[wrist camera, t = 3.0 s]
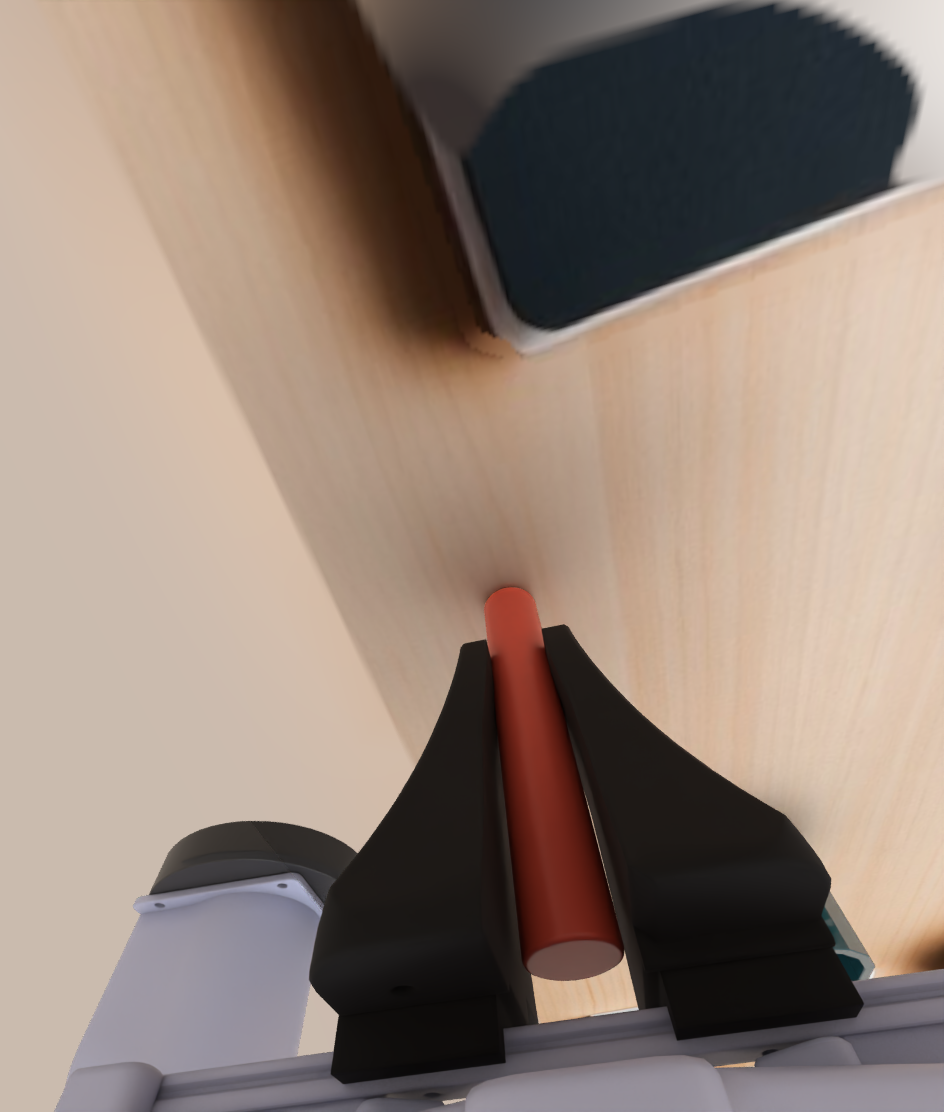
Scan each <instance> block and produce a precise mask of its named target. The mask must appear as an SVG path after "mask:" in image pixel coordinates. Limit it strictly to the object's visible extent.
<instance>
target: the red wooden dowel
mask: <svg viewBox="0 0 944 1112" xmlns="http://www.w3.org/2000/svg"><path fill="white" fill-rule="evenodd" d="M484 613H485V622H486V632H487V641H488V649H489V653H490V656H491V663H492V672H493V681H494V698H495V715H496V725H497V735H498V744H499V753H500V763H501V772H502V781H503V791H504V800H505V809H506V819H507V828H508V837H509V847H510V856H511V865H512V875H513V884H514V893H515V903H516V912H517V921H518V931H519V940H520V950H521V959H522V963H523V965H524V967H525V969H526V970H527V971H528V972H529V973H531V974H532V975H534V976H537V977H540V978H544V979H549V980H557V981H570V980H580V979H585V978H590V977H593V976H597V975H599V974H602V973H604V972H606V971H608V970H610V969H612V968H613V967H615V966H616V965H618V964H619V963H620V962H621V960H622V959H623V956H624V944H623V940H622V936H621V933H620V929H619V925H618V921H617V917H616V913H615V909H614V906H613V902H612V898H611V894H610V890H609V886H608V882H607V878H606V875H605V871H604V867H603V863H602V859H601V855H600V851H599V848H598V844H597V840H596V836H595V832H594V828H593V824H592V821H591V817H590V813H589V809H588V805H587V801H586V797H585V793H584V790H583V786H582V782H581V778H580V774H579V770H578V766H577V763H576V759H575V755H574V751H573V747H572V743H571V739H570V735H569V732H568V728H567V724H566V720H565V716H564V712H563V708H562V705H561V702H560V698H559V695H558V692H557V689H556V686H555V683H554V681H553V678H552V675H551V671H550V667H549V663H548V659H547V655H546V651H545V647H544V641H543V636H542V630H541V629H542V627H541V623H540V620H539V616H538V612H537V608H536V604H535V601H534V599H533V597H532V596H531V595H530V594H529V593H528V592H526V591H525V590H523V589H520V588H516V587H508V588H503V589H500V590H498V591H496V592H494V593H493V594H492V595H491V596H490V597H489V598H488V600H487V601H486V604H485V607H484Z"/></svg>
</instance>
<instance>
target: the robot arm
mask: <svg viewBox="0 0 944 1112" xmlns="http://www.w3.org/2000/svg"><path fill="white" fill-rule="evenodd" d="M541 630H542V636H543V641H544V647H545V651H546V655H547V659H548V663H549V667H550V671H551V675H552V678H553V681H554V683H555V686H556V689H557V692H558V695H559V698H560V702H561V705H562V708H563V712H564V716H565V720H566V724H567V728H568V732H569V735H570V739H571V743H572V747H573V751H574V755H575V759H576V763H577V766H578V770H579V774H580V778H581V782H582V786H583V789H584V792H585V795H586V798H587V802H588V805H589V808H590V812H591V815H592V819H593V823H594V827H595V831H596V835H597V839H598V843H599V847H600V851H601V855H602V859H603V863H604V867H605V871H606V876H607V880H608V884H609V888H610V892H611V896H612V900H613V904H614V908H615V912H616V917H617V921H618V925H619V929H620V933H621V936H622V940H623V944H624V950H625V954H626V958H627V962H628V966H629V971H630V975H631V979H632V983H633V987H634V992H635V996H636V1000H637V1004H638V1008H639V1010H637V1011H630V1012H622V1013H615V1014H607V1015H600V1016H593V1017H585V1018H578V1019H571V1020H563V1021H556V1022H548V1023H541V1024H538V1017H537V1011H536V1004H535V998H534V991H533V984H532V978H531V973H529V972H528V971H527V970H526V969H525V967H524V965H523V963H522V959H521V950H520V940H519V931H518V921H517V912H516V903H515V893H514V884H513V875H512V865H511V856H510V847H509V837H508V828H507V819H506V809H505V800H504V791H503V781H502V772H501V763H500V753H499V744H498V735H497V725H496V715H495V698H494V681H493V672H492V663H491V656H490V653H489V649H488V645H487V641H486V640H480V641H475V642H470V643H465V644H463V645H462V647H461V649H460V654H459V659H458V663H457V667H456V670H455V674H454V677H453V680H452V684H451V687H450V689H449V692H448V695H447V698H446V701H445V704H444V706H443V709H442V711H441V714H440V716H439V719H438V721H437V723H436V726H435V728H434V730H433V733H432V735H431V737H430V739H429V741H428V744H427V746H426V748H425V750H424V752H423V754H422V756H421V758H420V759H419V761H418V763H417V765H416V767H415V769H414V771H413V772H412V774H411V776H410V778H409V779H408V781H407V783H406V784H405V786H404V788H403V789H402V791H401V793H400V794H399V796H398V798H397V799H396V801H395V802H394V804H393V805H392V807H391V808H390V810H389V812H388V813H387V814H386V816H385V817H384V819H383V820H382V821H381V823H380V824H379V826H378V827H377V829H376V830H375V831H374V833H373V834H372V835H371V837H370V838H369V840H368V841H367V842H366V844H365V845H364V846H363V848H362V849H361V850H360V852H359V853H358V854H357V855H356V856H355V858H354V859H353V860H352V861H351V862H350V864H349V865H348V866H347V867H346V869H345V870H344V871H343V872H342V874H341V875H340V876H339V877H338V878H337V880H336V881H335V882H334V883H333V884H332V886H331V887H330V889H329V892H328V895H327V898H326V901H325V904H323V902H322V901H321V900H320V899H319V897H318V896H317V895H316V893H315V892H314V891H313V890H312V888H311V887H310V886H309V884H308V883H307V882H306V881H305V879H304V878H303V877H302V875H300V874H299V873H296V872H288V873H282V874H276V875H270V876H263V877H257V878H251V879H245V880H239V881H233V882H226V883H220V884H214V885H208V886H202V887H196V888H190V889H183V890H177V891H171V892H165V893H159V894H153V895H146V896H141V897H138V898H137V899H136V901H135V903H134V905H133V908H134V909H135V910H136V911H137V912H138V913H140V914H141V915H140V917H139V919H138V921H137V923H136V925H135V928H134V930H133V932H132V934H131V936H130V938H129V940H128V942H127V944H126V947H125V949H124V951H123V953H122V955H121V957H120V960H119V961H118V964H117V966H116V968H115V970H114V972H113V974H112V976H111V979H110V981H109V983H108V985H107V987H106V990H105V991H104V994H103V996H102V998H101V1000H100V1002H99V1004H98V1006H97V1009H96V1011H95V1013H94V1015H93V1018H92V1019H91V1022H90V1024H89V1025H88V1028H87V1030H86V1032H85V1034H84V1036H83V1039H82V1040H81V1043H80V1045H79V1047H78V1049H77V1052H76V1054H75V1057H74V1059H73V1062H72V1065H71V1068H70V1071H69V1074H68V1077H67V1082H66V1085H65V1089H64V1091H63V1093H62V1095H61V1097H60V1100H59V1102H58V1104H57V1106H56V1109H55V1110H54V1112H944V969H940V970H932V971H925V972H917V973H910V974H903V975H895V976H888V977H881V978H873V979H866V980H858V981H851V979H850V977H849V975H848V973H847V972H846V970H845V968H844V966H843V965H842V963H841V961H840V959H839V957H838V956H837V954H836V952H835V950H834V949H833V947H835V944H836V942H835V939H834V936H833V935H832V933H831V931H830V930H829V928H828V926H827V924H826V923H825V921H824V919H823V917H822V916H821V915H822V912H823V909H824V906H825V904H826V901H827V898H828V895H829V892H830V888H831V877H830V876H829V874H828V872H827V871H826V869H825V867H824V865H823V863H822V862H821V860H820V858H819V857H818V856H817V854H816V853H815V851H814V850H813V849H812V847H811V846H810V845H809V844H808V842H807V841H806V840H805V838H804V837H803V836H802V835H801V833H800V832H799V831H798V830H797V828H796V827H795V826H794V825H793V824H792V823H791V821H790V820H789V819H788V818H787V817H786V816H785V815H784V814H783V813H781V812H779V811H777V810H776V809H774V808H772V807H770V806H769V805H767V804H765V803H764V802H762V801H760V800H758V799H757V798H755V797H754V796H752V795H750V794H749V793H747V792H745V791H744V790H742V789H741V788H739V787H737V786H736V785H734V784H733V783H731V782H730V781H728V780H727V779H725V778H724V777H722V776H721V775H719V774H718V773H716V772H715V771H713V770H712V769H710V768H709V767H708V766H706V765H705V764H704V763H702V762H701V761H699V760H698V759H697V758H695V757H694V756H693V755H691V754H690V753H689V752H687V751H686V750H684V749H683V748H682V747H680V746H679V745H678V744H676V743H675V742H674V741H673V740H672V739H670V738H669V737H668V736H667V735H665V734H664V733H663V732H662V731H661V730H659V729H658V728H657V727H656V726H655V725H654V724H652V723H651V722H650V721H649V720H648V719H647V718H646V717H645V716H643V715H642V714H641V713H640V712H639V711H638V710H637V709H636V708H635V707H634V706H633V705H632V704H631V703H630V702H629V701H628V700H627V699H626V698H625V697H624V696H623V695H622V694H621V693H620V692H619V691H618V690H617V689H616V688H615V687H614V686H613V685H612V684H611V683H610V681H609V680H608V679H607V678H606V677H605V676H604V675H603V673H602V672H601V671H600V670H599V669H598V668H597V666H596V665H595V664H594V663H593V662H592V660H591V659H590V658H589V657H588V655H587V654H586V653H585V651H584V650H583V649H582V647H581V646H580V644H579V643H578V642H577V640H576V639H575V637H574V635H573V634H572V632H571V630H570V629H569V627H568V626H566V625H564V624H563V625H558V626H553V627H548V628H543V629H541ZM311 984H312V986H313V988H314V989H315V991H316V992H317V993H318V994H319V995H320V996H321V997H322V998H323V999H324V1000H325V1001H326V1002H327V1003H328V1004H329V1005H330V1006H331V1007H332V1008H333V1009H334V1010H335V1011H336V1012H337V1013H338V1014H339V1017H338V1024H337V1032H336V1038H335V1045H334V1052H327V1053H320V1054H313V1055H305V1056H298V1057H297V1054H298V1048H299V1043H300V1038H301V1033H302V1027H303V1022H304V1017H305V1011H306V1006H307V1000H308V995H309V990H310V985H311ZM754 1061H756V1062H755V1065H754V1066H755V1067H733V1068H714V1067H715V1066H723V1065H731V1064H738V1063H746V1062H754ZM461 1098H466V1100H464V1101H460V1102H456V1103H452V1104H448V1105H444V1103H443V1102H442V1101H445V1100H453V1099H461Z"/></svg>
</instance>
